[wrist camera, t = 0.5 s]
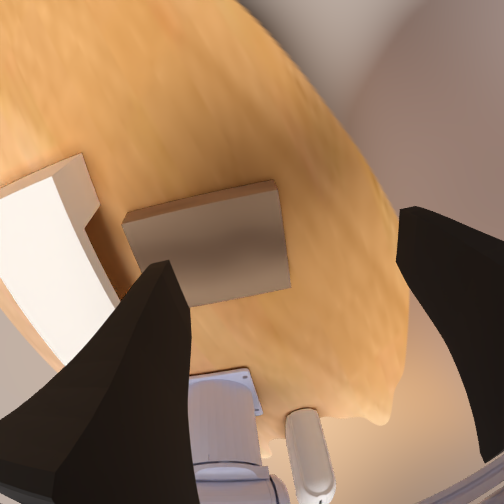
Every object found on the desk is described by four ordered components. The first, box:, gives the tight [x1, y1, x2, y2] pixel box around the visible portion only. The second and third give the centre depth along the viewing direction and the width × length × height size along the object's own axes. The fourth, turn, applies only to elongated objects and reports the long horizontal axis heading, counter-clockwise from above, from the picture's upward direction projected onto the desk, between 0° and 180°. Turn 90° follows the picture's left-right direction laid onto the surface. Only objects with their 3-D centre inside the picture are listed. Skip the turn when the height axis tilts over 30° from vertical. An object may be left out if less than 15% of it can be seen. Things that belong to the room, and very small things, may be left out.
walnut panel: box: [121, 180, 291, 308], centre depth 20 cm, size 7×9×2 cm
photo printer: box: [286, 409, 336, 504], centre depth 31 cm, size 10×4×12 cm, turn 5°
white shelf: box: [0, 153, 120, 366], centre depth 18 cm, size 16×7×4 cm, turn 10°
